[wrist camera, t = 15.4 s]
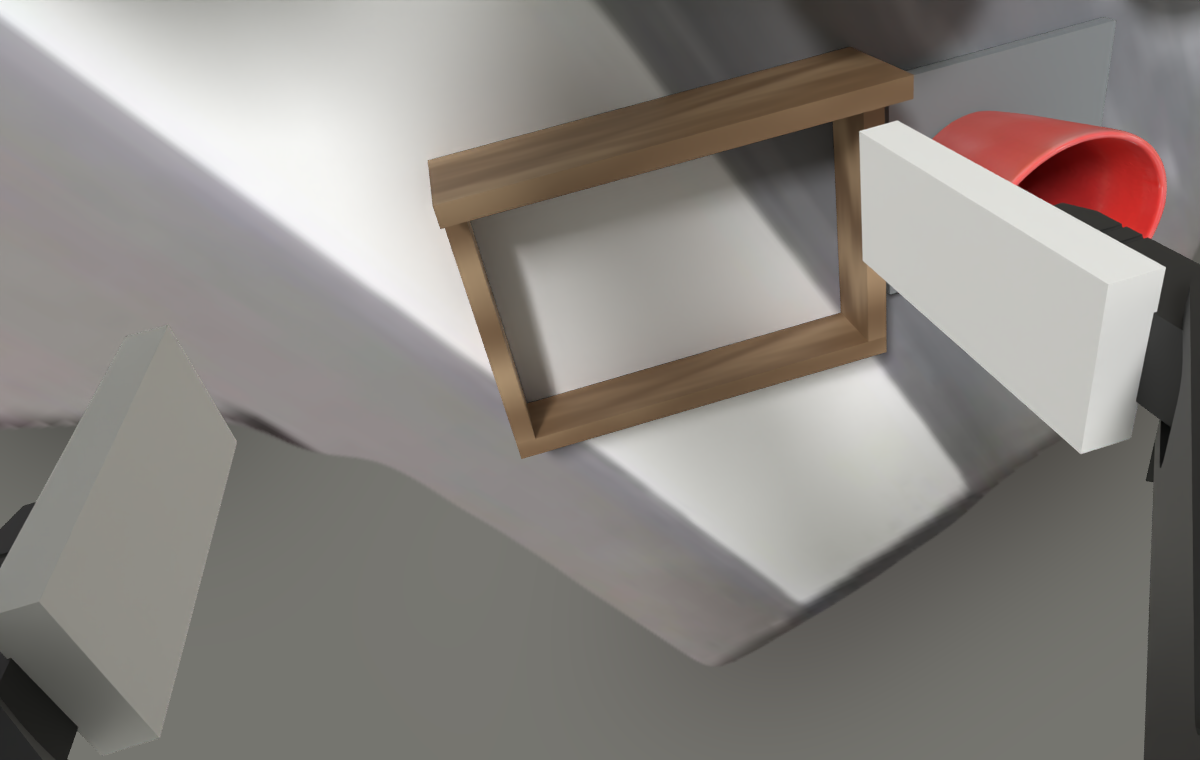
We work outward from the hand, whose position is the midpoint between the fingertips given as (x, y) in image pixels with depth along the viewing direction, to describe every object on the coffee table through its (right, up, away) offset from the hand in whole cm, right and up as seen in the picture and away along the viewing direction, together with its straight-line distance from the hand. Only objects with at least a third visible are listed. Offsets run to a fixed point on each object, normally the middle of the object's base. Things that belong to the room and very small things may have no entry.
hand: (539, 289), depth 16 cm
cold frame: (+5, +6, +36) cm, 37 cm away
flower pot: (+24, +11, +36) cm, 45 cm away
